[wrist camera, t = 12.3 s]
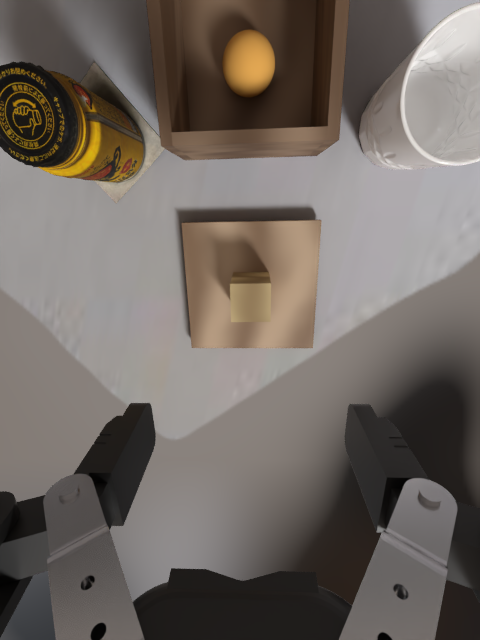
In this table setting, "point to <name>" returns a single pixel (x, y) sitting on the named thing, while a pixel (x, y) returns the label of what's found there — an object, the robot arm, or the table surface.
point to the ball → (248, 63)
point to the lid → (252, 282)
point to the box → (259, 111)
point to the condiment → (74, 127)
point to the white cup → (430, 101)
